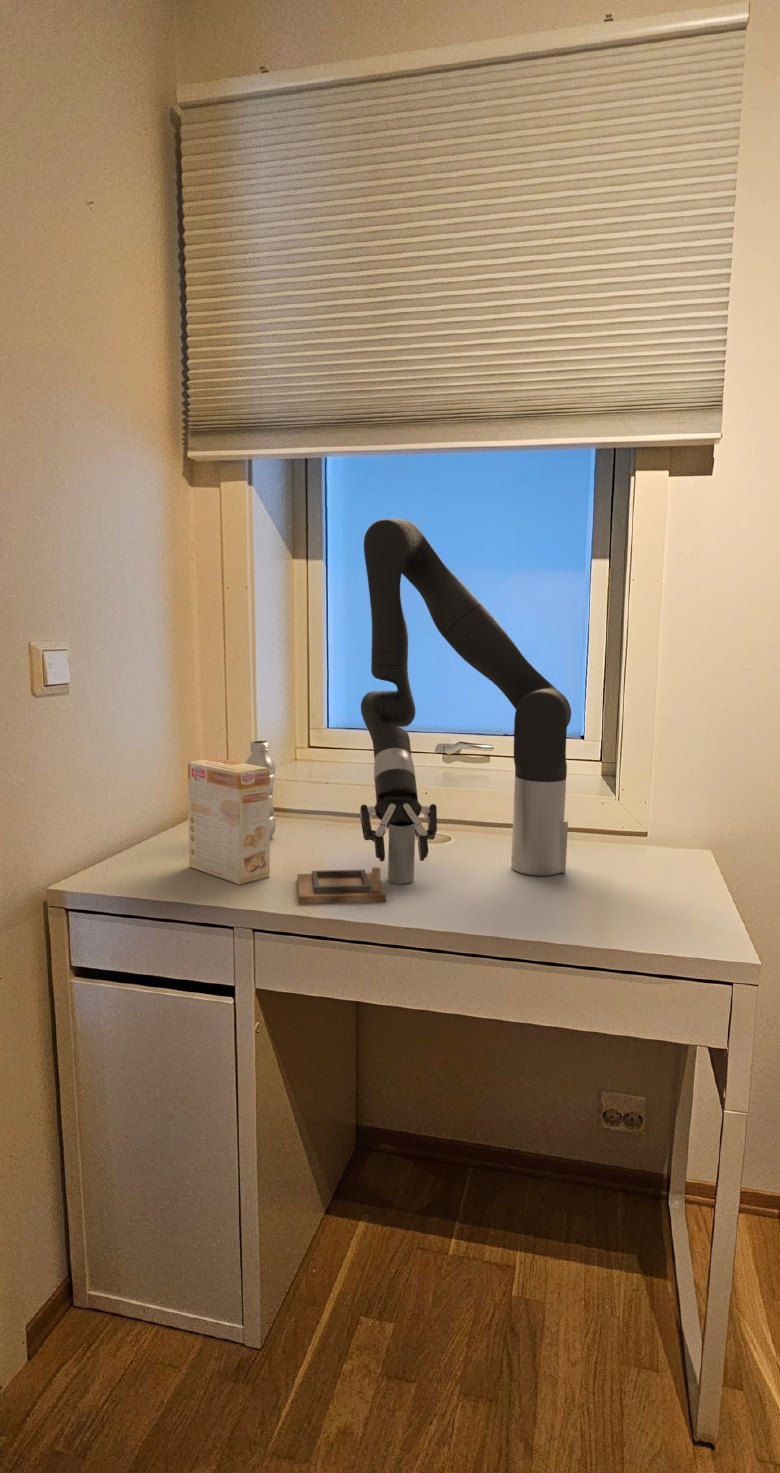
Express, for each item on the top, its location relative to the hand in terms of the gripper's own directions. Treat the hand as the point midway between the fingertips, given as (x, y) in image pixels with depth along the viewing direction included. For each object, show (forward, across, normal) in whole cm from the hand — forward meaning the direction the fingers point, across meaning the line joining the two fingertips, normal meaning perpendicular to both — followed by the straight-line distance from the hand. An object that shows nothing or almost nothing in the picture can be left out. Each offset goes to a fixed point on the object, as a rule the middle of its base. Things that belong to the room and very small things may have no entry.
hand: (402, 858), depth 146 cm
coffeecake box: (-3, -30, +9) cm, 32 cm away
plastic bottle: (-19, -25, +26) cm, 41 cm away
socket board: (+5, -11, +1) cm, 12 cm away
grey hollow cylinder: (+2, 0, +4) cm, 5 cm away
